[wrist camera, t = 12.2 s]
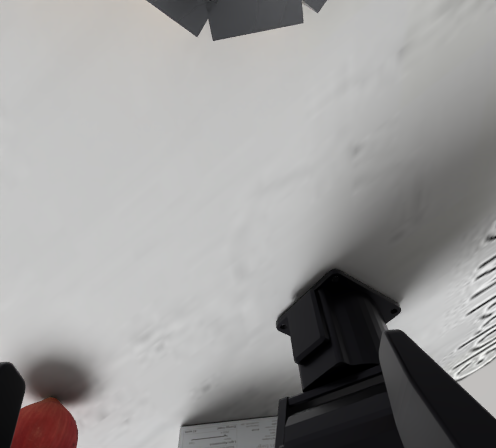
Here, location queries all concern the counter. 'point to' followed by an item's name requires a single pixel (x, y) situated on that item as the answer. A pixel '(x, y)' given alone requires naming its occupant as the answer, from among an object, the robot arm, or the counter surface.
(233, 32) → the hinge
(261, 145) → the counter surface
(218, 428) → the light bulb box
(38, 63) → the counter surface
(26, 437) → the onion
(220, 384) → the counter surface
